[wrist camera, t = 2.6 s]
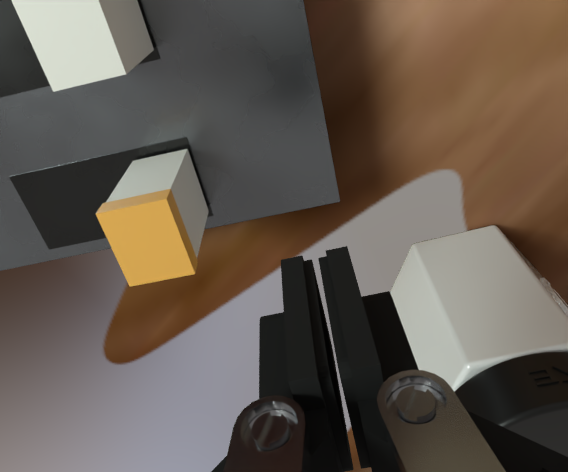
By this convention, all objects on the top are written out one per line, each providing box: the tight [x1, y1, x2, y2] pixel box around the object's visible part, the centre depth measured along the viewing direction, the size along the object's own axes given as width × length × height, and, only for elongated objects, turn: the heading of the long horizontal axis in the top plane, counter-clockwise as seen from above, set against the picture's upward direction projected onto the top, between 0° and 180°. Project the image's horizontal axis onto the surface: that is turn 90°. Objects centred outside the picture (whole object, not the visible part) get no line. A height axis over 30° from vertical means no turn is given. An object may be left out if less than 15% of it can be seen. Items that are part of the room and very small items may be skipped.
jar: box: [390, 225, 568, 457], centre depth 24 cm, size 9×8×12 cm
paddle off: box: [11, 0, 154, 92], centre depth 16 cm, size 2×3×4 cm
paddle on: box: [96, 149, 209, 286], centre depth 19 cm, size 2×3×5 cm
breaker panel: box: [0, 0, 340, 271], centre depth 22 cm, size 20×11×4 cm, turn 103°
